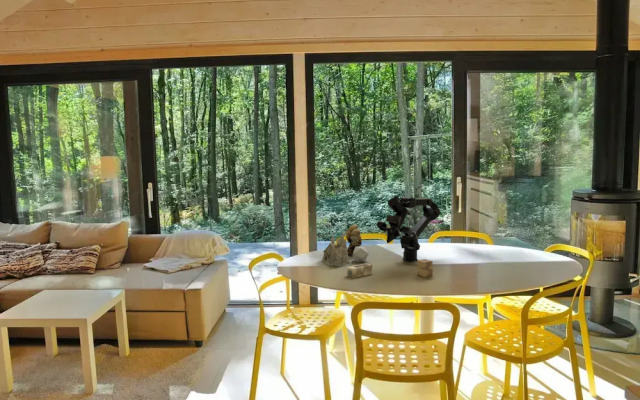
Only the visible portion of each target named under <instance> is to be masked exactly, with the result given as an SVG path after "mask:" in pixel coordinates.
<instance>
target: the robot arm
mask: <svg viewBox="0 0 640 400" xmlns="http://www.w3.org/2000/svg"><path fill="white" fill-rule="evenodd" d="M387 206H388V207H389V208H390V209H391V210H392V211H393V212H394V214H393V215H391V214H387V215H386V219H385V221H382V220H379V221H377V222H376V224H375V226H376V227H377V228H378V230H379V231H381V232H386V234H387V235H386V243H387V244H390V243H391V242H392V241H394V240H395V239H396V238H399V237H400V241H399V242H400V246H401V249H403V252H402V253H403V256H402V260H404V261H406V262H409V263H410V262H417V260H419V259H418V251H419V250H420V248H421V245H420V243H419V237H420V235H421V234H422V233H423V231H424V230H425V229H426V228H427V227H428V226H429V224H430V223H431V222H432V221H435V220H436V219H438V217H440V215H441V209H440V208H439V206H438V205H437V204H436V203H435V202H434V201H433V199H432V198H430V197H423V198H420V197H419V198H415V197H411V196H401V197H399V196H397V195H394V196H393V197H391V198H390V199H389V200H388V201H387ZM416 206H417V207H418V206H422V215H423V216H422V217H421V218H420V219H419V220H418V222H417V223H416V224H415V225H414V226H413V228H412V229H411V227H408V226H405V223H406V222H405V221H406V218H407V216H411V213H410V210H409V209H412V208H415V207H416ZM387 223H388V224H387ZM403 225H404V226H403ZM402 233H403V234H402ZM401 234H402V235H401Z"/></svg>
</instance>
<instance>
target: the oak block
mask: <svg viewBox="0 0 640 400" xmlns="http://www.w3.org/2000/svg"><path fill="white" fill-rule="evenodd" d="M416 263H417V264H416V270H417V271H416V275H417V276H420V277H424V278H426V277H431V276H433V274H434V273H433V270H434V269H433V268H434V267H433V265H434V263H433V260H431V259H427V258H424V259H423V258H422V259H418V260H417V261H416Z"/></svg>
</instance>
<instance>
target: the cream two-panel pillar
mask: <svg viewBox="0 0 640 400" xmlns="http://www.w3.org/2000/svg"><path fill="white" fill-rule="evenodd" d="M346 273H347V274H346V275H347V277H349V278H352V279H354V278H359V276H360V277H362V276H363V275H364V276H368V275H372V274H373V264H370V263H361V264H355V265H350V266H347V267H346ZM364 276H363V277H364Z"/></svg>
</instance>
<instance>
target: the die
mask: <svg viewBox="0 0 640 400" xmlns="http://www.w3.org/2000/svg"><path fill="white" fill-rule="evenodd" d="M368 256H369V252H368V250H367V248H366V246H361V247H355V249H354V252H353V256H352V257H353V259H354V261H355V263H364V262H367V259H368Z"/></svg>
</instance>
